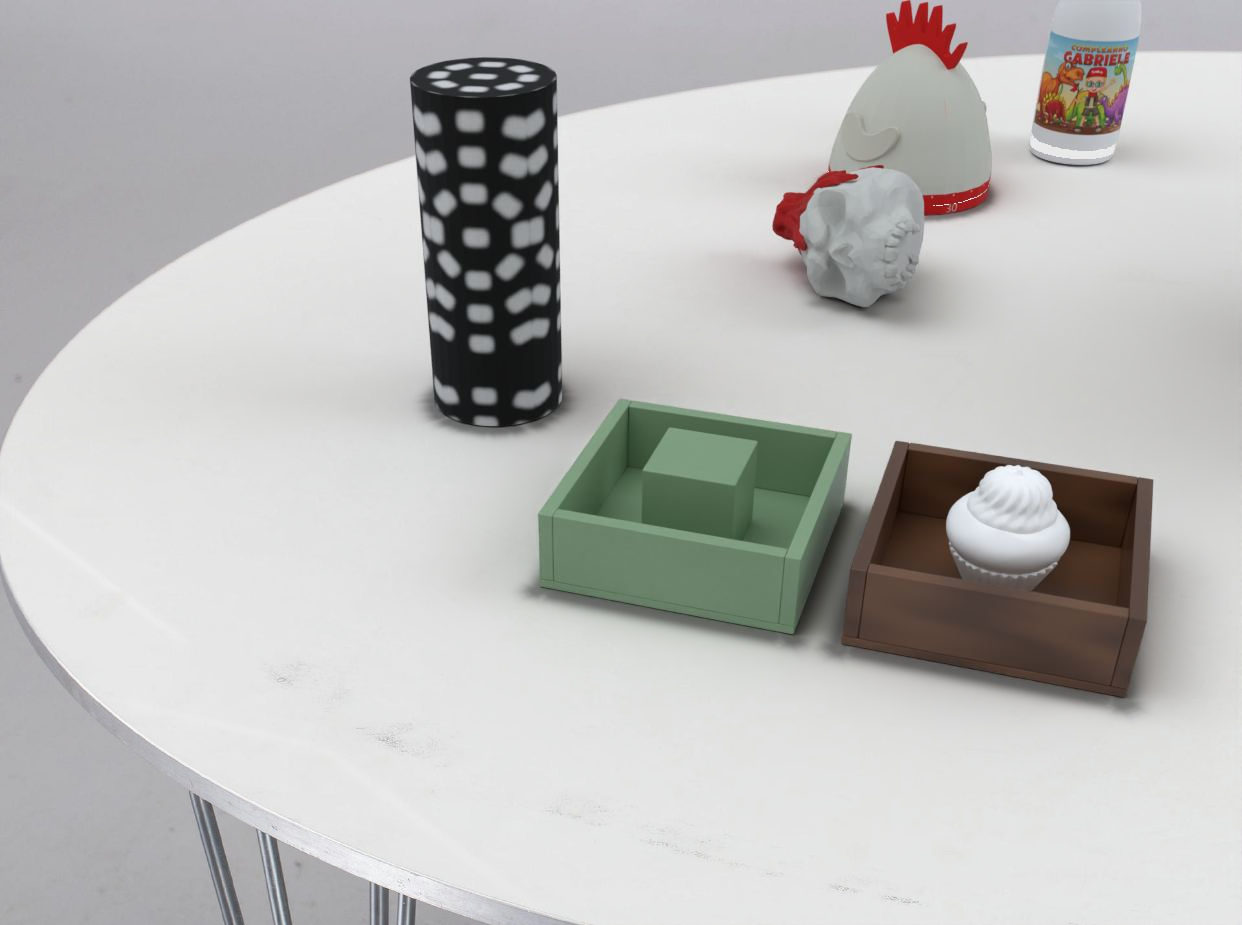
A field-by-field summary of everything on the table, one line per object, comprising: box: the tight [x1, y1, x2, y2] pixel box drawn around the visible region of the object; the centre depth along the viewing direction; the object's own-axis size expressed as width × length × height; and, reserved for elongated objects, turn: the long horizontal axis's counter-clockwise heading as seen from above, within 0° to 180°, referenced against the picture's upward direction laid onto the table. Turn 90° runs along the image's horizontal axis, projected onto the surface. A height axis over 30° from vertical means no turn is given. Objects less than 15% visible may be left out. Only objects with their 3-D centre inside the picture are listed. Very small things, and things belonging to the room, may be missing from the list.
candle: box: [771, 165, 925, 308], centre depth 106 cm, size 9×11×15 cm
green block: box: [641, 428, 758, 541], centre depth 77 cm, size 5×5×5 cm
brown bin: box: [840, 440, 1154, 698], centre depth 73 cm, size 14×14×4 cm
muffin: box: [946, 465, 1070, 591], centre depth 72 cm, size 6×6×7 cm
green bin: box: [537, 398, 853, 635], centre depth 78 cm, size 14×14×4 cm
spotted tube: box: [409, 56, 563, 427], centre depth 87 cm, size 8×8×20 cm
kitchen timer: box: [827, 0, 993, 216], centre depth 121 cm, size 14×14×15 cm
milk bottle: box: [1028, 0, 1143, 166], centre depth 127 cm, size 8×8×20 cm
